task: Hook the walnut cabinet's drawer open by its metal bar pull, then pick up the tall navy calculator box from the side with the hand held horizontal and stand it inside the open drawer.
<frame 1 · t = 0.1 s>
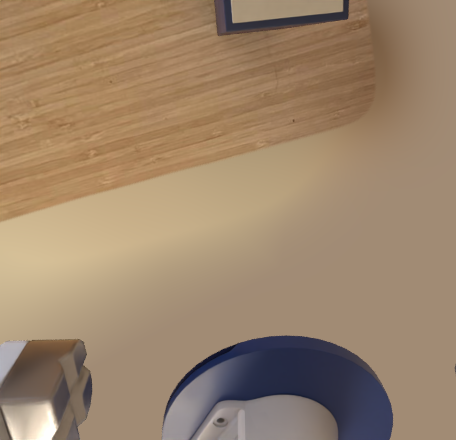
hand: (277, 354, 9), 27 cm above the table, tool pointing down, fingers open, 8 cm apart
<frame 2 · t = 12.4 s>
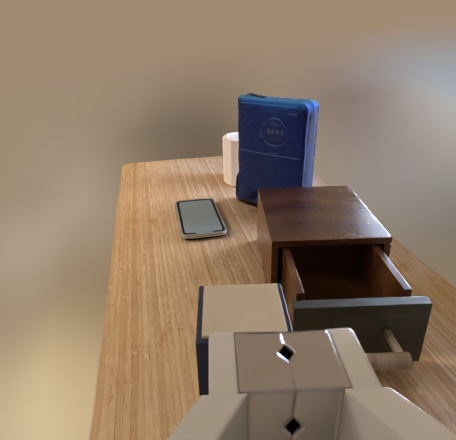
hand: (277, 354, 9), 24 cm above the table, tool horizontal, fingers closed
cabinet: (311, 265, 56), on the table
mug: (244, 184, 87), on the table
drawer: (341, 299, 42), point 4 cm above the table, slide at 9.7 cm
smartphone: (199, 219, 71), on the table
book: (271, 207, 75), on the table
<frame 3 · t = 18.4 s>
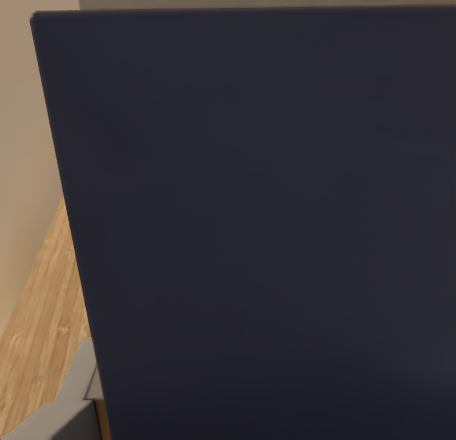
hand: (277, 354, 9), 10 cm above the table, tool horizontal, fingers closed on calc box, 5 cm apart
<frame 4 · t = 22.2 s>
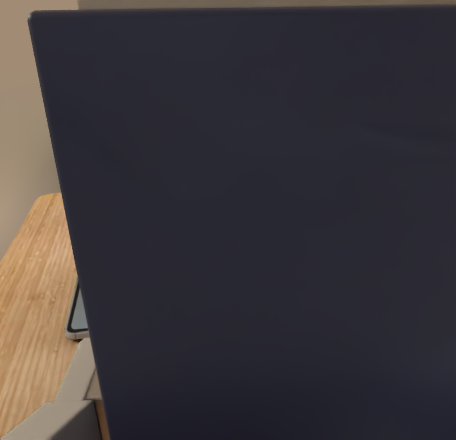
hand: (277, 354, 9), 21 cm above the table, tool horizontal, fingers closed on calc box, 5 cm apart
smartphone: (107, 296, 47), on the table
when the fingers open (12 cm above the table, at t = 25.9 s): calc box stays where it is, resting on drawer.
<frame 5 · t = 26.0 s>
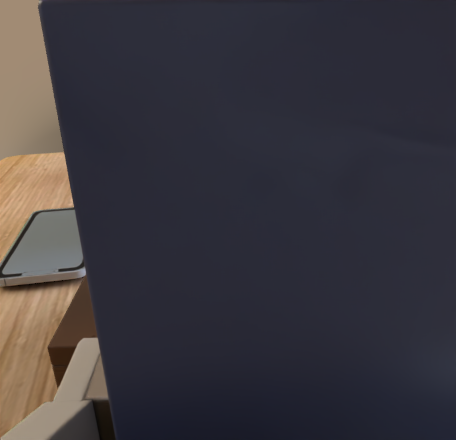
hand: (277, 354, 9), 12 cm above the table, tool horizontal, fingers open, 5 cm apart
cabinet: (237, 359, 24), on the table
smartphone: (57, 244, 39), on the table
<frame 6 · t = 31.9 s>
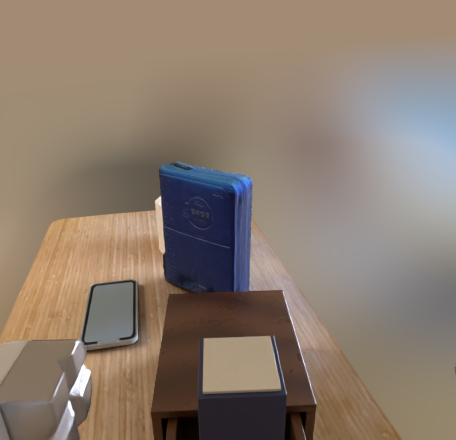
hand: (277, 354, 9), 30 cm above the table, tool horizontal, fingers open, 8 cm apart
cabinet: (230, 401, 44), on the table
mug: (183, 253, 75), on the table
smartphone: (112, 314, 58), on the table
book: (205, 292, 63), on the table
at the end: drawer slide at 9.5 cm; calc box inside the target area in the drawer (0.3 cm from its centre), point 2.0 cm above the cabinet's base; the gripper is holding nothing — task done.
